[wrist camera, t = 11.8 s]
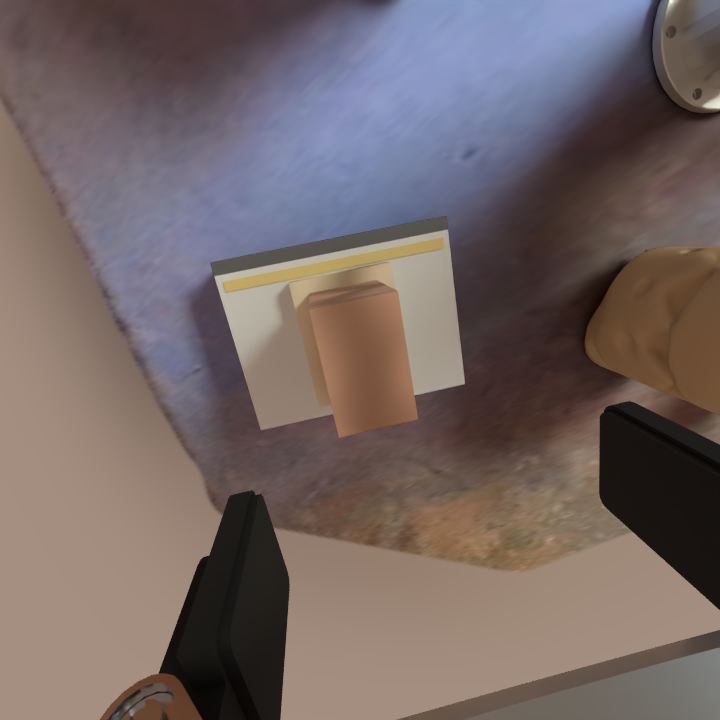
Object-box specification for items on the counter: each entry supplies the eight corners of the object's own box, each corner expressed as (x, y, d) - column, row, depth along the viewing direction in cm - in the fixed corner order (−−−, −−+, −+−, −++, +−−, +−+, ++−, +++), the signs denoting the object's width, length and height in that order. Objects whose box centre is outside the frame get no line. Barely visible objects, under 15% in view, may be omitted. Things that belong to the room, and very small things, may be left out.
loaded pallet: (386, 261, 29) (418, 268, 21) (406, 380, 32) (440, 428, 24) (289, 281, 29) (280, 296, 20) (318, 400, 32) (321, 456, 23)
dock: (427, 220, 33) (446, 215, 29) (445, 366, 38) (465, 384, 33) (225, 260, 32) (209, 262, 28) (267, 406, 37) (260, 430, 32)
